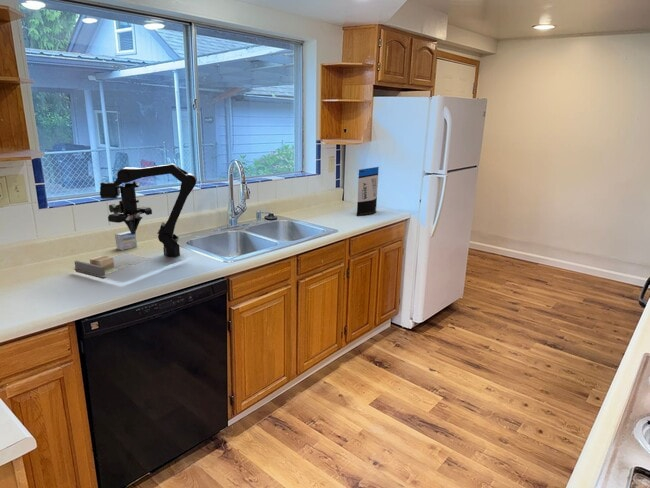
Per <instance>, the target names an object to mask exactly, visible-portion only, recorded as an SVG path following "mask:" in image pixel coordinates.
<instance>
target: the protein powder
mask: <svg viewBox="0 0 650 488" xmlns="http://www.w3.org/2000/svg"><path fill="white" fill-rule="evenodd" d="M379 168H380V167H379V166H376V167H367V168H363V169H362V168H361V169H358V180H357V181H358V182H357V206H356V217H364V216H365V217H366V216H372V215H375V214H376V213H377V201H378V200H377V199H378V187H379V186H378V184H379V183H378V182H379Z"/></svg>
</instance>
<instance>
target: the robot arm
mask: <svg viewBox="0 0 650 488" xmlns="http://www.w3.org/2000/svg"><path fill="white" fill-rule="evenodd" d="M163 175H171V176H173V177H174V178H175V179H176V180H178V181H179V182H180V187H179V193H178V196H177V198H176V201H175V202H174V205H173V207H172V210H171V212H170V214H169V217H168V218H167V221H166V222H163V221H162V222H161V225H160V228H159V229H158V231H157V240H159V243H162V245H163V249H162V250H163V256H165V257H167V258H176V257H179V256H181V250H180V249H181V248H180V244H178V241H179V236H178V235H177V234H175V230H176V224H177V221H178V220H179V217H180V214H181V212H182V211H183V207H184V206H185V202H186V200H187V199H188V197H189V195H190V193H191V192H192V191H193V189H194V188H195V186H196V185H197V181H198V177H197V176H196V175H195V174H194V173H189V172H187V171H186V170H184V169H183V168H181V167H179V165H176V164H175V163H168V164H163V165H155V166H148V167H132V166H125V167H122V168H121V169H119V170H118V171H117V173H116V177H117V178H116V179H115V180H114V182H106V181H104V182H102V181H101V182H100V187H99V196H100V199H102V200H113V199H114V200H115V199H118V197H120V200H119V201H118V204H117V205H116V204H115V203H112V204H109V205H108V209H109V212H110V213H111V214H109V215H107V220H108V222H111V223H119V224H120V223H125V224H126V226H127V228H128V231H130V232H131V234H135V232H136V231H137V229H138V226H139V224H140V223H141V220H143V218H144V217H143V216H141V215H142V214H145V215H146V216H150V215H152V214H153V210H152V208H151V207H149V206H140V207H138V204H139V202H140V200H139V199H137V195H136V189H137V188H139V187H140V185H141V184H139V183H138V182H137V181H136V180H139V179H142V178H148V177H155V176H163ZM130 182H131V183H130ZM123 183H125V184H124V185H122V184H123ZM136 233H137V232H136Z"/></svg>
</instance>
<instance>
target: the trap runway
mask: <svg viewBox="0 0 650 488" xmlns="http://www.w3.org/2000/svg"><path fill="white" fill-rule="evenodd" d="M112 257H113V261H114V267H112V268H109V269H106V270H104V267H101V266H97V265H93V264H90V262H89V263H88V262H84V261H80V260H74V262H73V263H74V267H75V273H79V274H82V275H86V276H87V275H88V276H91V277H94V278H98V279H101V280H105V279H106V276H105V275H108V274H110V273H114V272H116V271H119V270H123V269H125V268H129V267H131V266H134V265H136V264H140V263H144V262H145V261H149V260H151V259H152V257H147V256H143V255H142V256H141V255H137V254H133V253H129V252H123V253H120V254H117V255H113V256H112ZM122 265H127V266H124V267H121V266H122ZM117 267H121V268H118V269H117Z"/></svg>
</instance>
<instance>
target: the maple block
mask: <svg viewBox="0 0 650 488" xmlns="http://www.w3.org/2000/svg"><path fill="white" fill-rule="evenodd" d="M89 264H93V265H97V266H101V267H104V270H106V269H109V268H112V267H114V261H113V256H108V255H99V256H96V257H93V258H89ZM114 268H115V267H114ZM112 269H113V268H112Z"/></svg>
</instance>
